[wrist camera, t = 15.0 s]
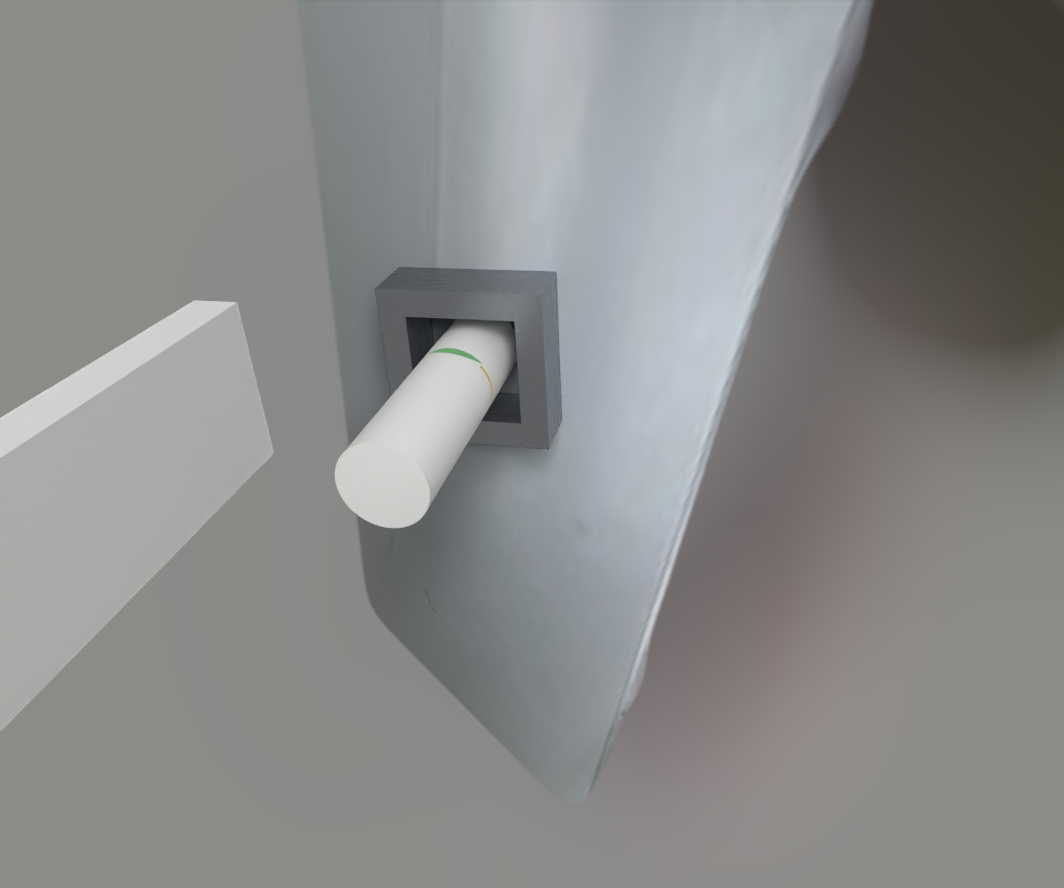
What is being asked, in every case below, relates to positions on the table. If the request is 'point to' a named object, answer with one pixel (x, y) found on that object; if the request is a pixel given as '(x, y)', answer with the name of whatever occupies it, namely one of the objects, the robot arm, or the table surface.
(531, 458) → the table surface
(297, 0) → the table surface
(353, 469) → the tube
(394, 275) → the gray square frame
